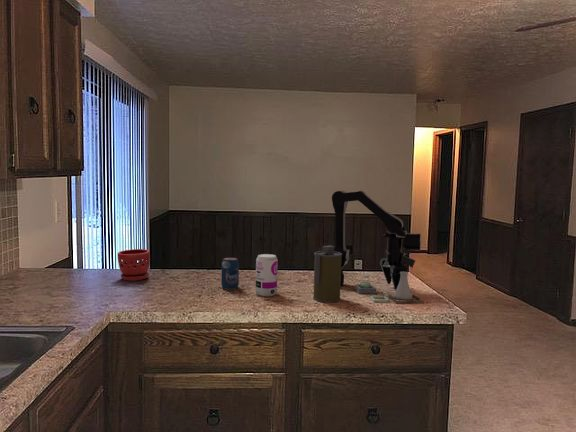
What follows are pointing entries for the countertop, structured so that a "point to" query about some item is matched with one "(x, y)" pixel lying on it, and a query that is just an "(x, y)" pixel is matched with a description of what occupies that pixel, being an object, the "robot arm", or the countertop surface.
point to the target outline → (407, 300)
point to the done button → (365, 284)
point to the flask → (403, 288)
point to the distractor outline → (379, 300)
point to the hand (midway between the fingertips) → (392, 286)
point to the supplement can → (266, 274)
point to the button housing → (365, 289)
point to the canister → (327, 275)
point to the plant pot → (134, 264)
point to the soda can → (230, 273)
